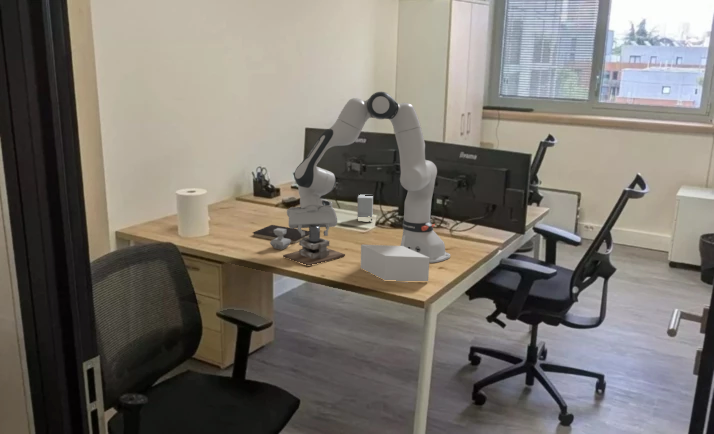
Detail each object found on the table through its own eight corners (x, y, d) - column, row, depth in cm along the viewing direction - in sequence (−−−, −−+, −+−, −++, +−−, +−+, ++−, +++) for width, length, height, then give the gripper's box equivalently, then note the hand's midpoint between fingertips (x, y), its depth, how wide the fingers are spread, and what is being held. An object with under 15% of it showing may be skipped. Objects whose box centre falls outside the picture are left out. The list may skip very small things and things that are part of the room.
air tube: (321, 253, 275) (322, 225, 272) (317, 256, 270) (317, 228, 267) (311, 252, 276) (311, 224, 273) (306, 255, 272) (307, 227, 269)
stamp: (281, 252, 279) (281, 233, 277) (268, 249, 281) (268, 230, 279) (292, 246, 287) (292, 227, 285) (279, 244, 289) (279, 225, 287)
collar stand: (345, 256, 275) (345, 240, 273) (308, 266, 261) (308, 250, 259) (319, 247, 286) (319, 232, 284) (283, 257, 272) (283, 241, 270)
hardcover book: (295, 245, 290) (295, 240, 290) (252, 237, 301) (252, 232, 300) (314, 236, 304) (314, 231, 304) (272, 229, 314) (272, 224, 314)
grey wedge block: (420, 289, 241) (421, 262, 238) (351, 274, 254) (351, 249, 252) (435, 277, 253) (437, 252, 250) (369, 264, 266) (370, 239, 264)
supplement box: (372, 219, 334) (373, 194, 331) (371, 222, 327) (372, 198, 323) (358, 218, 335) (358, 194, 331) (356, 222, 327) (357, 197, 324)
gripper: (286, 203, 272) (290, 233, 266) (335, 202, 277) (339, 230, 270) (285, 211, 278) (288, 240, 271) (333, 209, 282) (337, 238, 275)
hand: (314, 235), depth 270 cm, fingers open, 8 cm apart
